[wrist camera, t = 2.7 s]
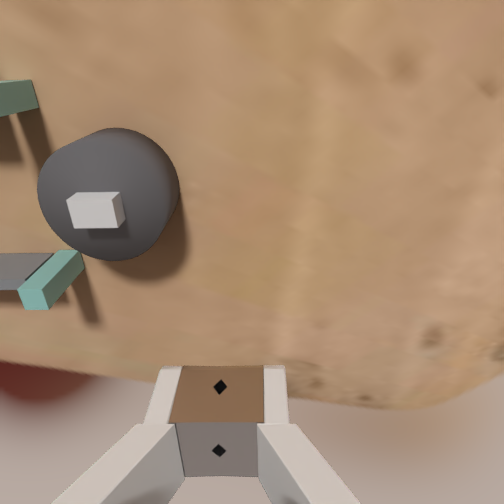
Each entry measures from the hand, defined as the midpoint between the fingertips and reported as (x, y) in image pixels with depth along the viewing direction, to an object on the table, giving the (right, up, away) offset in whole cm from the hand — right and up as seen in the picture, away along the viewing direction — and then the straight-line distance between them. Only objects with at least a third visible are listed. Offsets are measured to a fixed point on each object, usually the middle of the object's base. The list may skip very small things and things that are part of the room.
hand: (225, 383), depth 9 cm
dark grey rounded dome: (-8, +8, +15) cm, 18 cm away
